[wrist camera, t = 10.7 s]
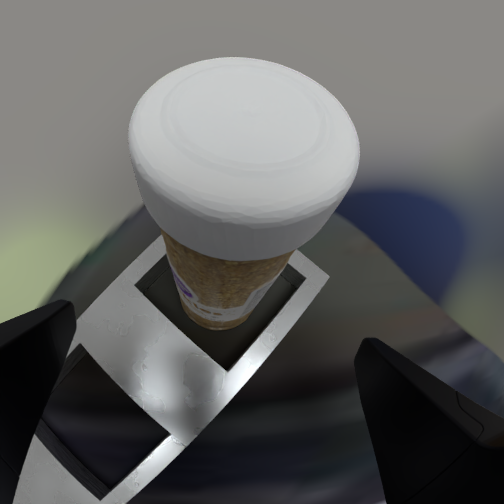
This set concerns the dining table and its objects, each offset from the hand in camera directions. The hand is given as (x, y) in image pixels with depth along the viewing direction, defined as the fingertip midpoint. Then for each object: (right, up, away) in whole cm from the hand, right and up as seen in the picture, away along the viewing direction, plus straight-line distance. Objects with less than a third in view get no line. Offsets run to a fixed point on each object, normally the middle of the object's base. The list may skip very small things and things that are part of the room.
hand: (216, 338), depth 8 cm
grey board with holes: (-6, -6, +6) cm, 10 cm away
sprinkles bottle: (-1, 0, +9) cm, 9 cm away
